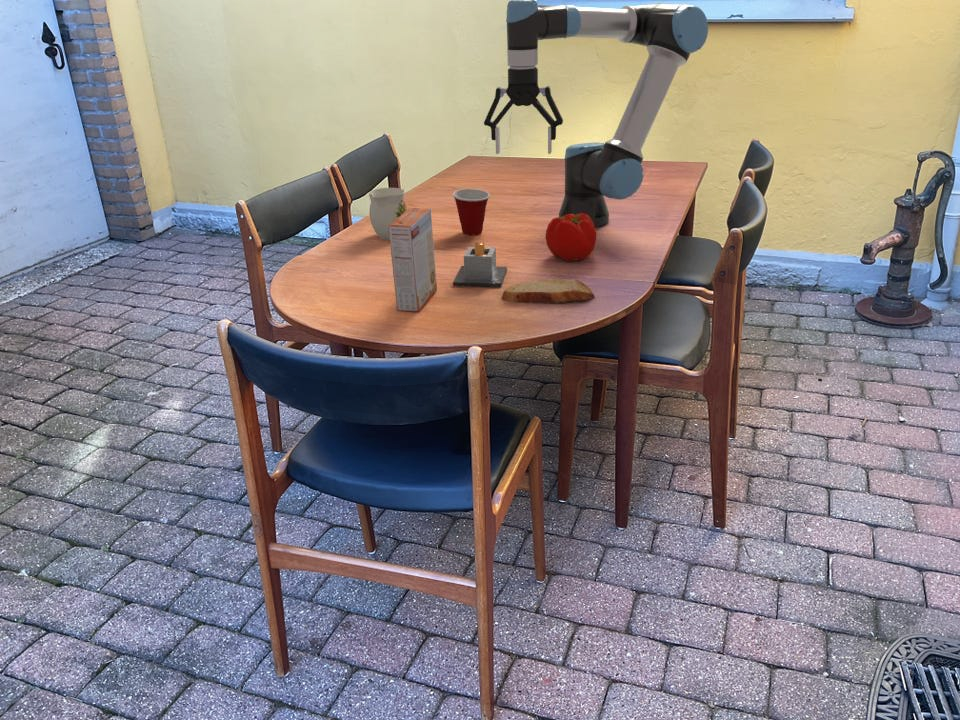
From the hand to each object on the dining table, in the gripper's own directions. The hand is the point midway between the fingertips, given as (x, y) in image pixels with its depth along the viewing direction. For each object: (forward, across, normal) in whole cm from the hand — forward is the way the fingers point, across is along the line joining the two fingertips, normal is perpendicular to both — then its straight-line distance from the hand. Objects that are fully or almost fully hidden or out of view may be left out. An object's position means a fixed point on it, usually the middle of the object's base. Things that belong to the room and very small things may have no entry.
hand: (523, 152), depth 212 cm
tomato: (+27, -13, +5) cm, 30 cm away
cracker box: (+27, +22, +38) cm, 51 cm away
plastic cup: (+27, +17, -15) cm, 35 cm away
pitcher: (+27, +41, -12) cm, 50 cm away
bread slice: (+27, -9, +33) cm, 44 cm away
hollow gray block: (+26, +9, +22) cm, 35 cm away
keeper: (+27, +9, +22) cm, 36 cm away
